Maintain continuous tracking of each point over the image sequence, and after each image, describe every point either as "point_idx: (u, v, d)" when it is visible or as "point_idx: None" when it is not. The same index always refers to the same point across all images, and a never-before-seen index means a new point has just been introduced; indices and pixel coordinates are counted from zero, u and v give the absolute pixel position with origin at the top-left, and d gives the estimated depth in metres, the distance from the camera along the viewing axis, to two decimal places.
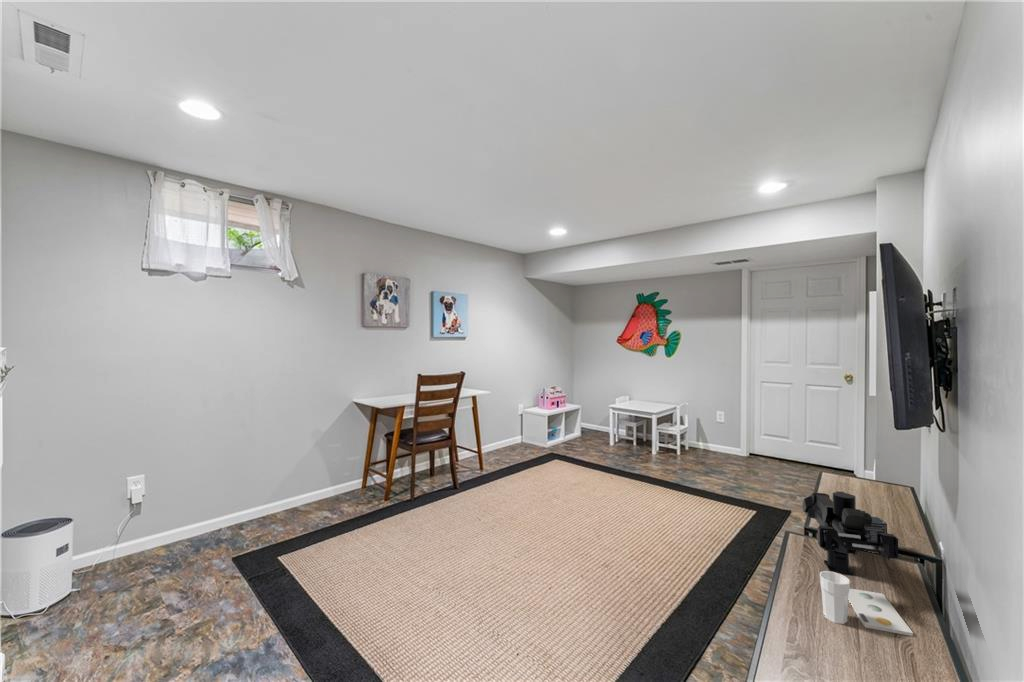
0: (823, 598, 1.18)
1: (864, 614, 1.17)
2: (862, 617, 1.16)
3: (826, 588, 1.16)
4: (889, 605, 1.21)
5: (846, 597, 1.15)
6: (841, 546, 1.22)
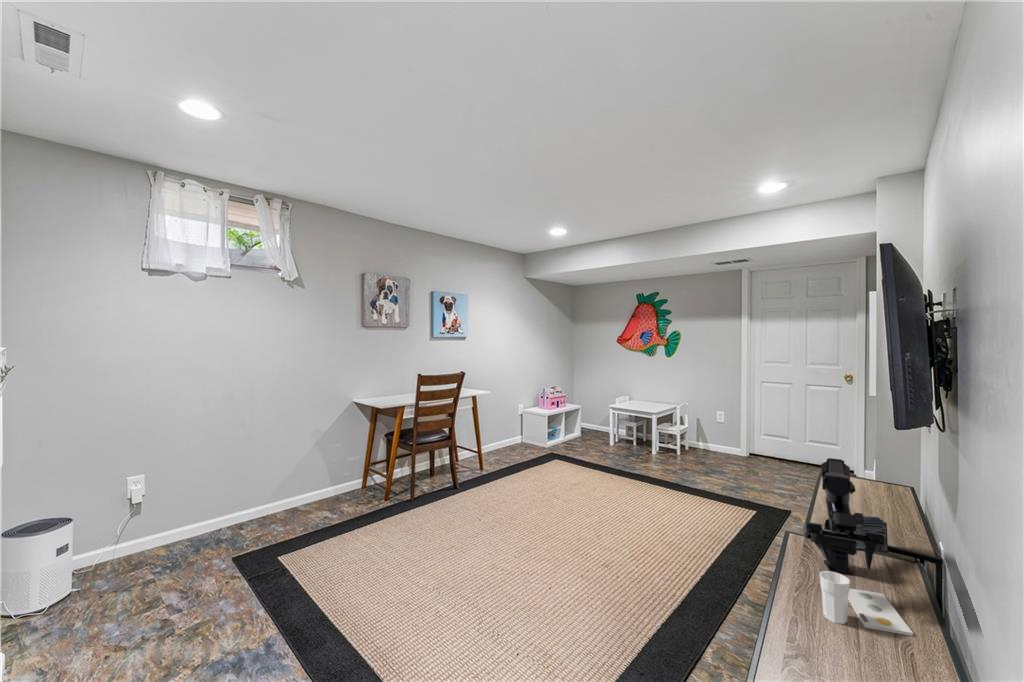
0: (823, 598, 1.18)
1: (864, 614, 1.17)
2: (862, 617, 1.16)
3: (826, 588, 1.16)
4: (889, 605, 1.21)
5: (846, 597, 1.15)
6: (824, 553, 1.25)
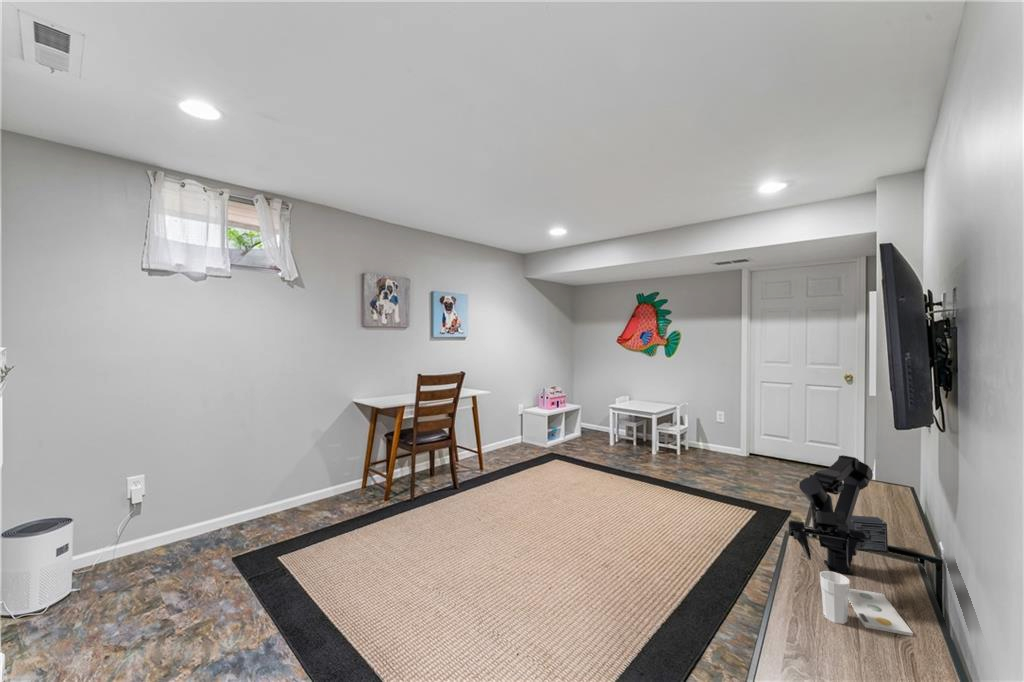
0: (823, 598, 1.18)
1: (864, 614, 1.17)
2: (862, 617, 1.16)
3: (826, 588, 1.16)
4: (889, 605, 1.21)
5: (846, 597, 1.15)
6: (805, 550, 1.27)
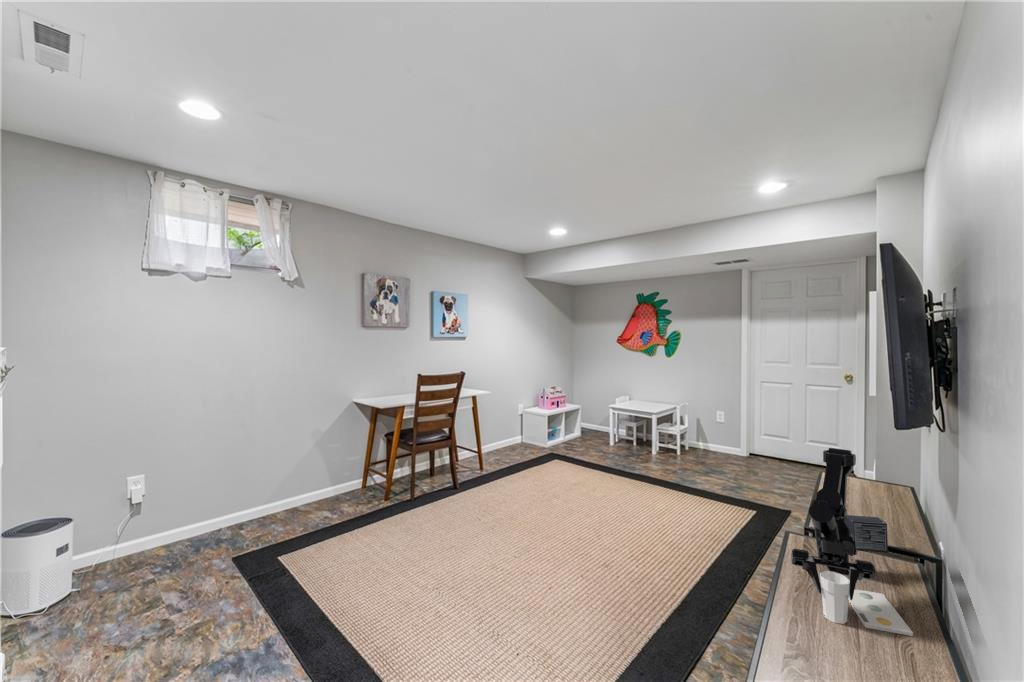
0: (823, 598, 1.18)
1: (864, 614, 1.17)
2: (862, 617, 1.16)
3: (826, 588, 1.16)
4: (889, 605, 1.21)
5: (846, 597, 1.15)
6: (816, 583, 1.19)
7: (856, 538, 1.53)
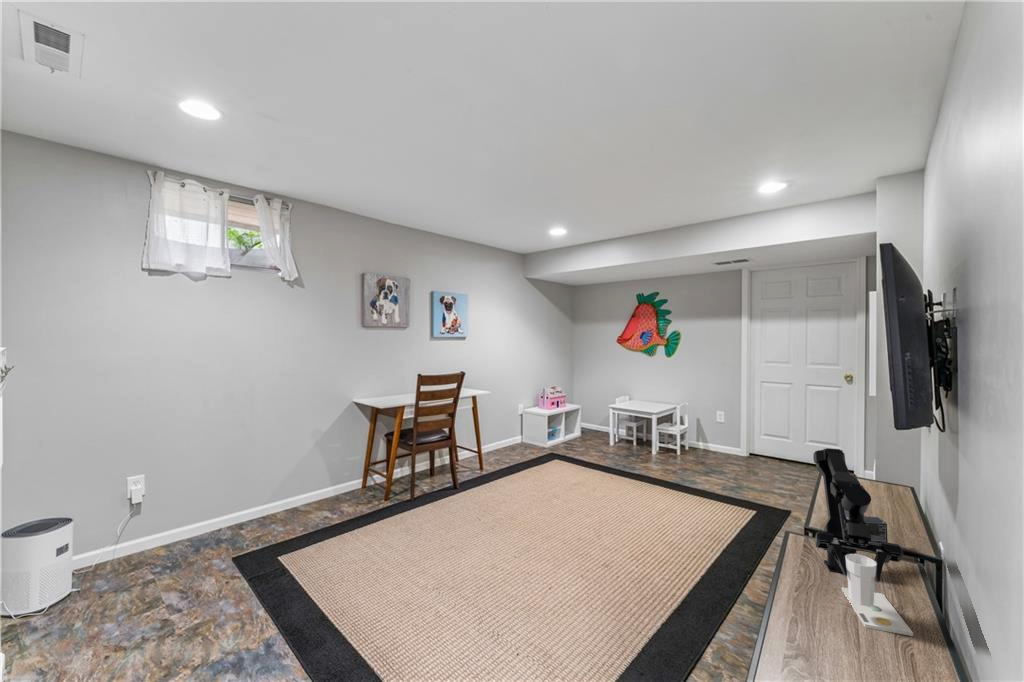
0: (849, 580, 1.16)
1: (864, 614, 1.17)
2: (862, 617, 1.16)
3: (852, 570, 1.15)
4: (889, 605, 1.21)
5: (873, 579, 1.13)
6: (841, 565, 1.17)
7: None
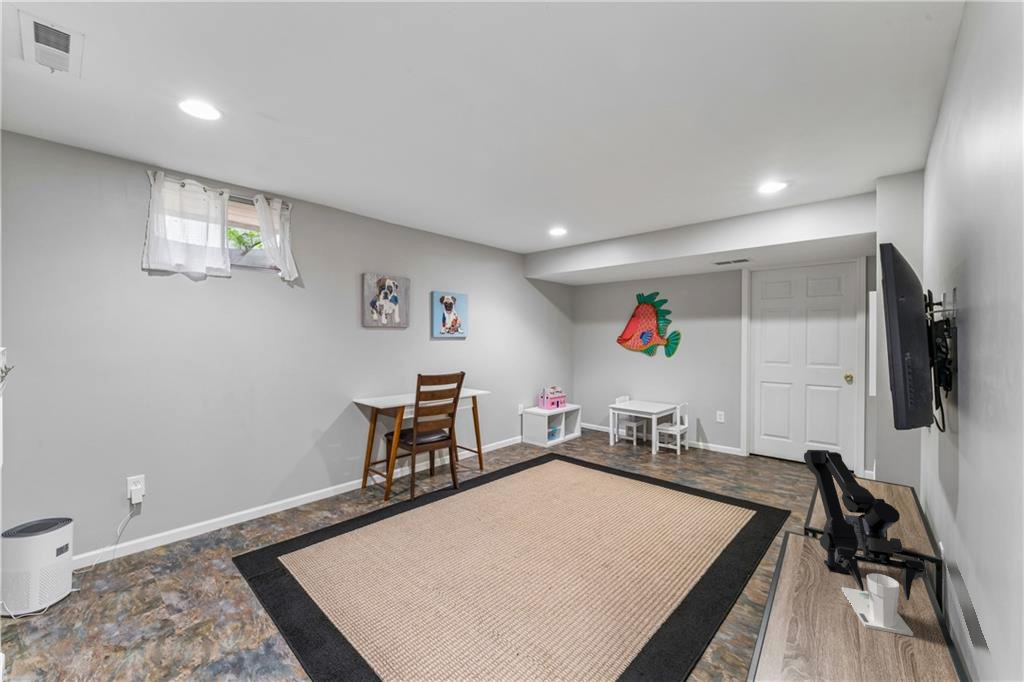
0: (870, 601, 1.15)
1: (864, 614, 1.17)
2: (862, 617, 1.16)
3: (874, 591, 1.13)
4: None
5: (895, 600, 1.12)
6: (857, 581, 1.16)
7: None
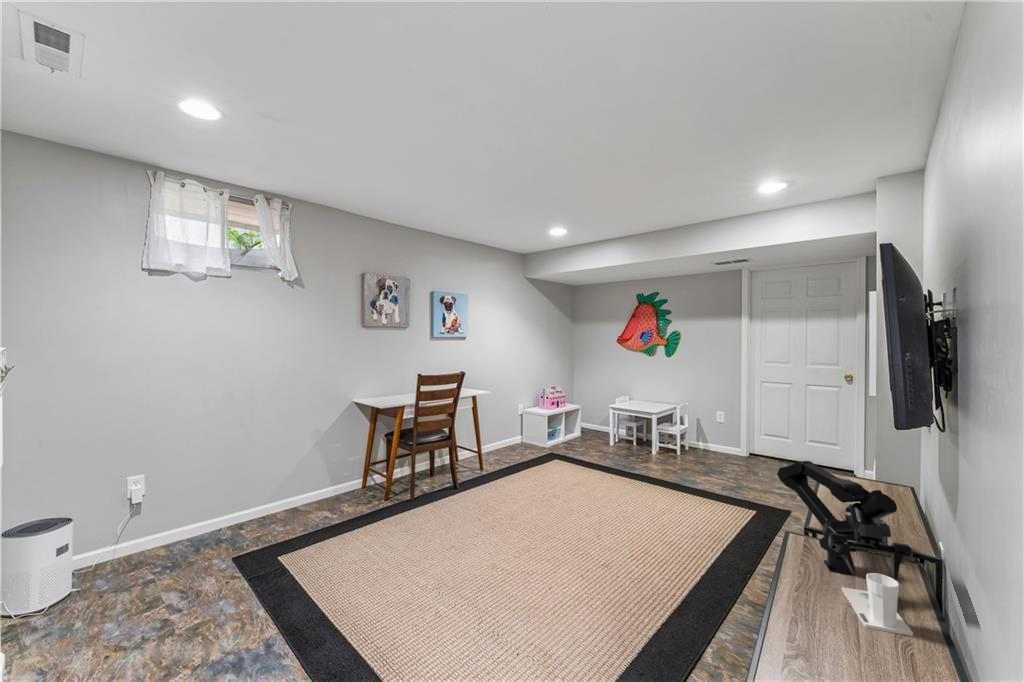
0: (870, 601, 1.15)
1: (864, 614, 1.17)
2: (862, 617, 1.16)
3: (874, 590, 1.13)
4: None
5: (895, 600, 1.12)
6: (849, 564, 1.25)
7: None
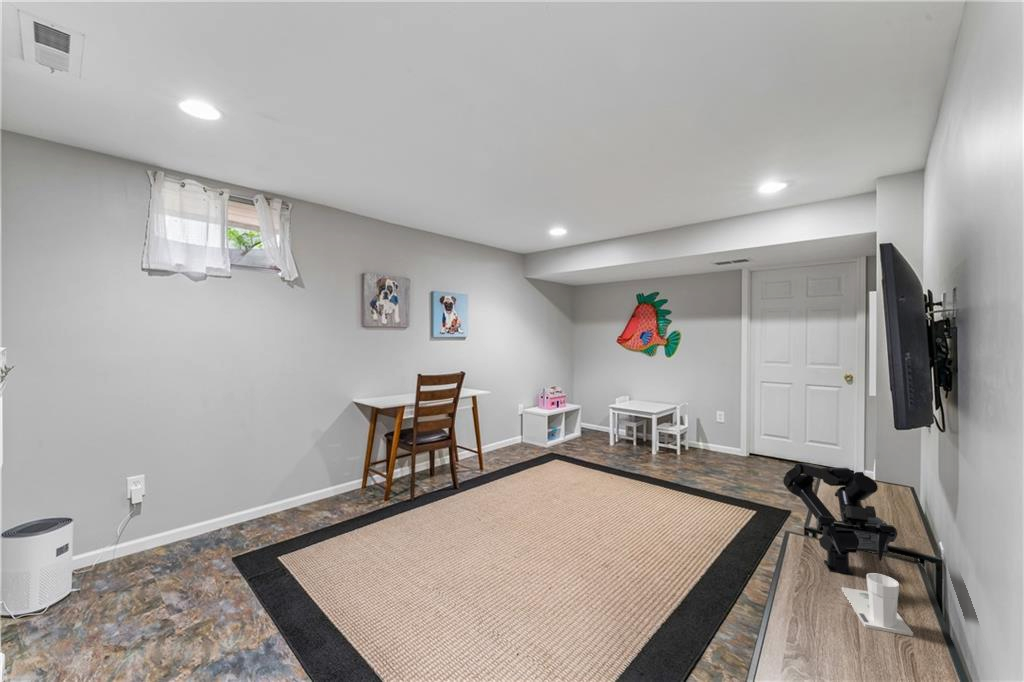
0: (870, 601, 1.15)
1: (864, 614, 1.17)
2: (862, 617, 1.16)
3: (874, 590, 1.13)
4: None
5: (895, 600, 1.12)
6: (836, 545, 1.28)
7: None
